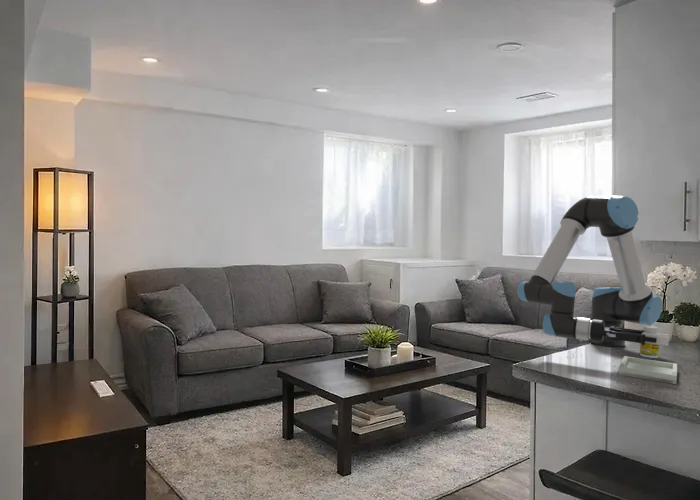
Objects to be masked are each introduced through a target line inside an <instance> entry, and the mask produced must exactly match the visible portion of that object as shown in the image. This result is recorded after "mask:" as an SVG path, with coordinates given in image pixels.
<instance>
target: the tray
mask: <svg viewBox="0 0 700 500" xmlns="http://www.w3.org/2000/svg"><path fill="white" fill-rule="evenodd" d="M618 375H619V376H624V377H630V378H635V379H644V380H648V381H649V380H650V381H656V382H660V383H661V382H662V383H666V384H667V383H668V384H673V385H677V381H678V379H677V378H678V363H675V362H668V361H661V360H656V359H655V360H652V359H647V358H640V357H633V356H628V355H627V356H626V355H624V356H623V357H622V360H621V362H620V364H619V366H618Z"/></svg>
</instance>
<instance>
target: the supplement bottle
mask: <svg viewBox="0 0 700 500" xmlns="http://www.w3.org/2000/svg"><path fill="white" fill-rule="evenodd" d="M643 330H644V331H645V332H643V333H642V334H644V335H645V336H646V334H648V335H655V336H659V335H658V334H657V333H659V332H658V331H659V328H658V327H657V326H653V325H644V326H643ZM639 344H640V345H639V346H640V347H639V355H640V356H642V357H645V358H651V359H654V358H655V359H656V358H659V357H658V356H659V350H660V349H659V348H660V345H657V344H649V343H645V345H642V343H639Z"/></svg>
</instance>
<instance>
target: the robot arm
mask: <svg viewBox="0 0 700 500" xmlns="http://www.w3.org/2000/svg"><path fill="white" fill-rule="evenodd" d="M638 216H639V210H638V205H637V203H636V202H635V201H634V200H633V199H632V198H631V197H629V196H627V195H620V194H619V195H617V194H616V195H590V196H586V197H583V198H581V199H579V200H578V201H576V202H575V203H574V204H573V205H572V206H571V207H570V208H569V209H568V210H567V211H566V212H565V213H564V215H563V217H562V218H561V220H560V223H559V224H560V226H559V228H558V230H557V232H556V234H555V236H554V237H553V239H552V241H551V243H550V244H549V245H548V248H547V249H546V250H545V252H544V255H543V257H542V258H541V260H540V261H539V263H538V265H537V267H536V268H535V270H534V271H533V273H532V275H531V277H530V278H529V280H526V281H525V280H524V281H522V282H520V283H519V284H518V286H517V290H516V293H517V296H518V298H519V299H520V300H521V301H523V302H527V303H530V304H537V305H543V306H548V307H550V313H545V314H544V316H543V321H542V331H543V333H544V334H545V335H549V336H554V337H556V338H557V337H559V338H567V339H574V340H579V341H580V342H583V341H585V342H587V343H589V344H592V345H598V346H605V347H606V346H607V347H625V345H626V342H629V343H635V344H641V343H642V345H645V343H649V344H657V345H659V346H666V347H669V344H670V343H669V342H670V334H668V333H667V334H666V333H661V332H660V333H659V332H657V334H658V335H659V336H655V335H648V334H646V336H645V335H644V334H642V333H643V332H645V331H644V329H642V330H641V329H633V328H624V327H623V326H622V322H623V321H624V322H628V323H633V324H639V325H640V326H641V325H644V326H653V325H654V324H655V323H656V322H657V321H658V320H659V318H660V317H661V314H662V312H663V299H662V298H661V297H660V296H658V295H656V294H653V289H652V287H650V285H647V284H646V281H645V277H644V274H643V269H642V266H641V263H640V259H639V255H638V252H637V247H636V243H635V241H634V236H633V233H632V232H633V231H634V230H635V226H636V225H637V223H638V221H639V217H638ZM589 228H599V232H600V235H601V236H602V237H604V238H606V240H607V243H608V247H609V250H610V251H609V252H610V254H611V257H612V261H613V264H614V268H615V271H616V272H615V273H616V274H617V275H616V276H617V278H618V282H619V286H620V287H618V286H617V287H596V288H594V289H593V290H592V291H593V292H592V297H591V311H590V313H591V315H590V318H589V317H581V316H574V312H575V302H576V300H575V299H576V284H575V283H574V282H573V281H569V280H568V281H567V280H555V279H556V277H557V275H558V274H559V272H560V270H561V269H562V267H563V265H564V263H565V261H566V260H567V258H568V256H569V255H570V253H571V251H572V250H573V248H574V245H575V243H576V242H577V241H578V239H579V237H580V236H582V235H583V234H584V233H585V232H586V230H587V229H589ZM593 343H594V344H593Z"/></svg>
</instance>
